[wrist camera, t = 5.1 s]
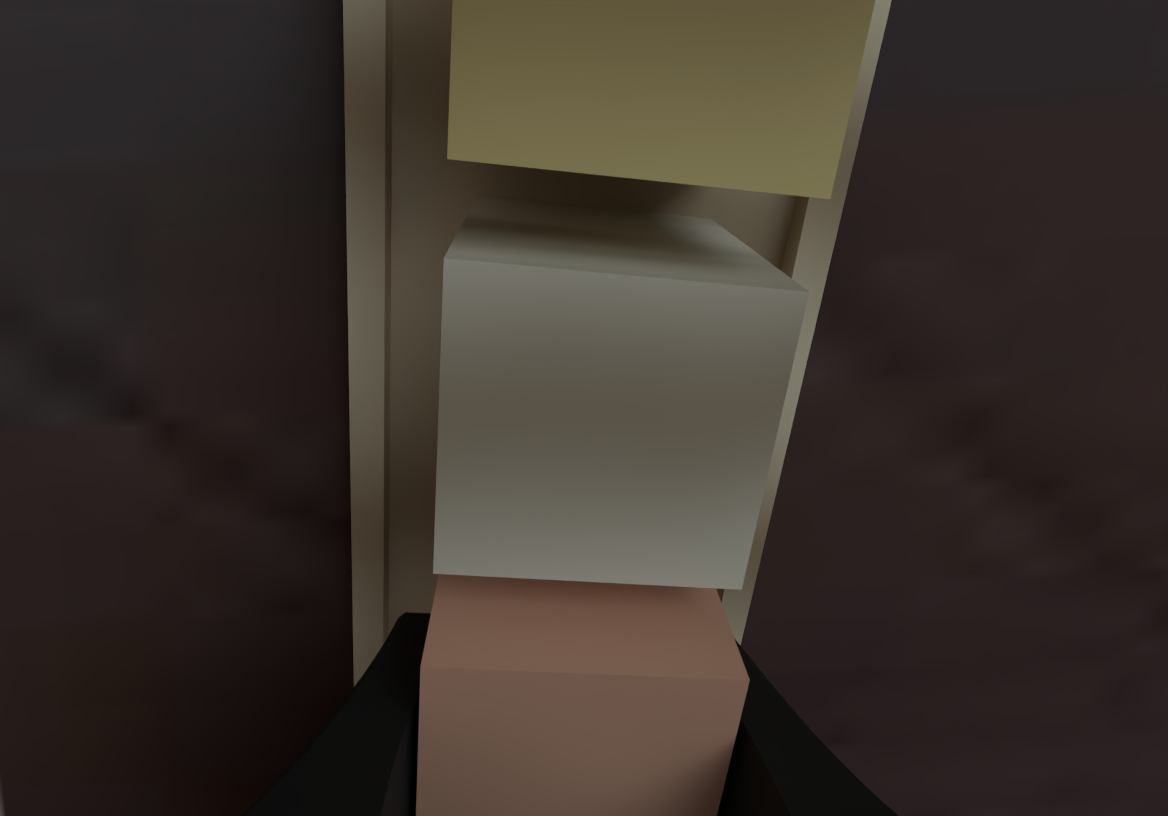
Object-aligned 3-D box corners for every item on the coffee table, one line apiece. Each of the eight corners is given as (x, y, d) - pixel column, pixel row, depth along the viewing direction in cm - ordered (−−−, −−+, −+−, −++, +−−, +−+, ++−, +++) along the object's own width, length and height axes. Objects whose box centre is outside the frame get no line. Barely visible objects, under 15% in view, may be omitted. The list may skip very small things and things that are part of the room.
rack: (655, 936, 21) (692, 1205, 16) (367, 933, 21) (312, 1216, 15) (900, -179, 11) (1204, -397, 6) (358, -263, 11) (192, -597, 5)
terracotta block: (647, 657, 15) (697, 898, 11) (450, 648, 15) (413, 896, 10) (678, 484, 14) (749, 680, 9) (458, 471, 13) (420, 667, 9)
